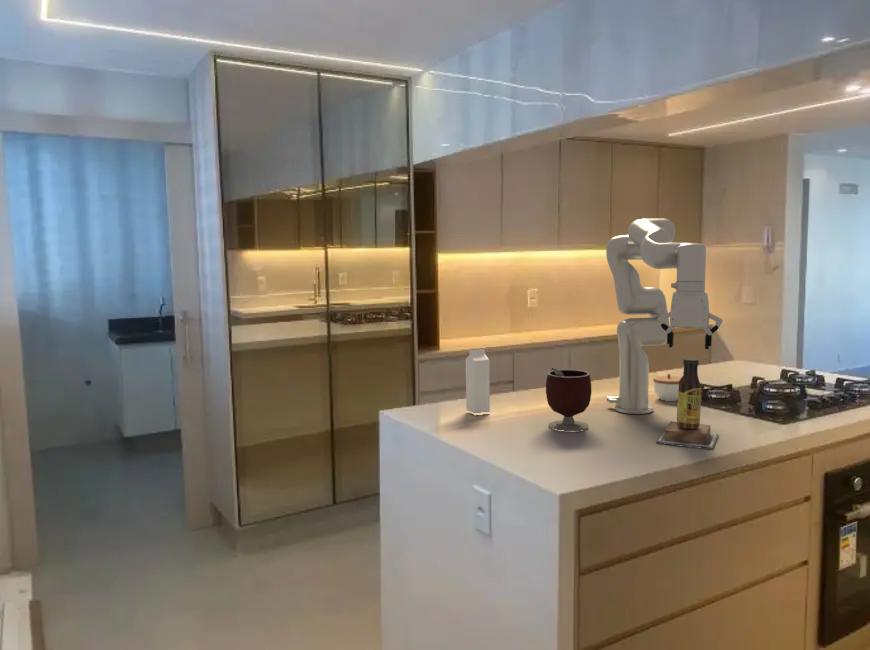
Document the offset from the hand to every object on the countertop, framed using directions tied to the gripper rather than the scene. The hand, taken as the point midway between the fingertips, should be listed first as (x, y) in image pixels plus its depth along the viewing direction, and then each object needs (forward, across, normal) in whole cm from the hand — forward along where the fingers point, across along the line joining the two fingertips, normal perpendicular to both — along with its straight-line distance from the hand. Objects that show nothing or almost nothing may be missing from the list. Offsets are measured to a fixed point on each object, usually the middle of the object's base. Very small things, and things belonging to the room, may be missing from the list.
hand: (688, 347), depth 193 cm
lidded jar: (+28, -13, +52) cm, 60 cm away
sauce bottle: (+23, +1, 0) cm, 23 cm away
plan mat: (+27, 0, -1) cm, 27 cm away
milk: (+28, -68, +5) cm, 74 cm away
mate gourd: (+27, -35, -1) cm, 44 cm away
